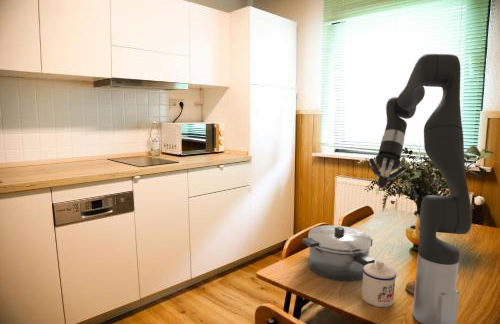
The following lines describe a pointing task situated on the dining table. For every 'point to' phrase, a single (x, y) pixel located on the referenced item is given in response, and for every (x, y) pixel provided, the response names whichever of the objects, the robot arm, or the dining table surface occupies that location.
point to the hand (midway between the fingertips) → (381, 187)
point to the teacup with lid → (378, 284)
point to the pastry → (410, 286)
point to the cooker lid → (338, 238)
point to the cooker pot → (338, 263)
